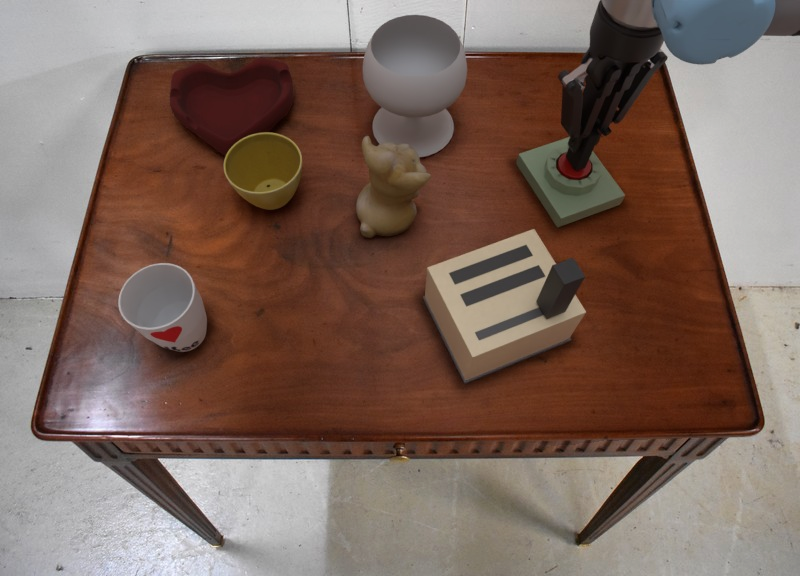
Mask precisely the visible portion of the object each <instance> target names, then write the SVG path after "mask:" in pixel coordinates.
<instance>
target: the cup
mask: <svg viewBox="0 0 800 576" xmlns="http://www.w3.org/2000/svg"><path fill="white" fill-rule="evenodd" d="M117 301H118V310H119V313H120V315H121V317H122V318H123V320H125V322H126V323H128V325H130V326H131V327H132V328H133V329H135V330H136V331H137V332H138V333H139V334H141V335H142V336H143V337H144V338H145V339H147V340H149V341H151V342H152V343H154V344H156V345H158V346H159V347H162V348H163V349H167V350H170V351H175V352H179V353H184V352H190V351H193V350H195V349H196V348H197V347H199V346H200V345H201V344H202V343H203V341H204V340H205V338H206V335H207V328H208V317H207V313H206V309H205V305H204V302H203V298H202V296H201V293H200V292H199V290H198V288H197V286H196V283H195V282H194V280H193V277H192V276H191V274H190V272H188V271H187V270H186V269H185V268H183V267H181V266H180V265H177V264H173V263H169V262H161V263H160V262H159V263H154V264H150V265H147V266H144V267H142V268H140V269H139V270H137V271H136V272H134V273H133V274H131V276H130V277H128V278H127V280H126V281H125V282H124V284H123V285H122V287H121V290H120V292H119V296H118V300H117Z"/></svg>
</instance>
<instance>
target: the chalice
mask: <svg viewBox="0 0 800 576" xmlns="http://www.w3.org/2000/svg"><path fill="white" fill-rule="evenodd" d="M467 77H468V63H467V57H466V51H465V48H464V45H463V42H462V40H461V39H460V36H459V35H458V33H457V31H455V29H453V27H452V26H451V25H449V24H447V23H446V22H444V21H443V20H441V19H439V18H436V17H433V16H428V15H423V14H406V15H400V16H397V17H393V18H392V19H389V20H387V21H386V22H384V23H383V24H381V25H379V27H378V28H377V29H376V30H375V31H374V32H373V34H372V36H371V38H370V40H369V41H368V43H367V45H366V47H365V52H364V55H363V60H362V80H363V84H364V87H365V89H366V92H367V93H368V95H369V96H370V97H371V99H372V100H373V102H375V103H376V104H377V105H378V106H379V107H380V108H379V109H378V110H377V112H376V114H375V115H374V117H373V121H372V133H373V136H374V138H375V140H376V142H377V143H378V145H379V144H381V143H385V142H390V143H394V144H396V145H400V144H408V145H410V146H412V147H413V148H414V149H415V150H416V151H417V153H418V155H419V158H424V157H429V156H431V155H433V154H436V153H438V152H439V151H441V150H443V149H444V148H445V147H446V146H447V145H448V144H449V143H450V141H451V139H452V137H453V134H454V131H455V125H454V119H453V117H452V115H451V114H450V111H448V109H447V108H449V107H451V106H452V105H453V104H454V103H455V102H456V101H457V100H458V99H459V97H460V96H461V94H462V92H463V91H464V89H465V87H466V82H467Z"/></svg>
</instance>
